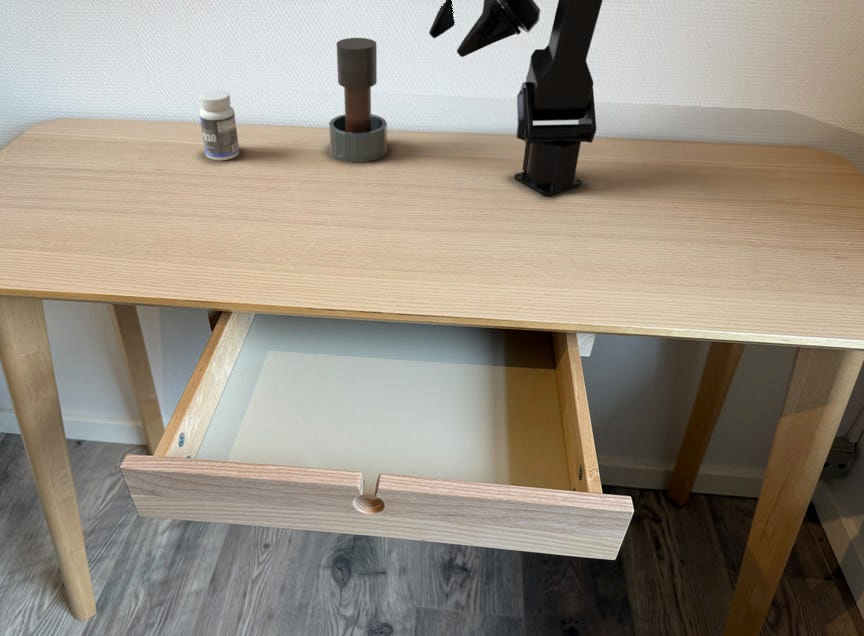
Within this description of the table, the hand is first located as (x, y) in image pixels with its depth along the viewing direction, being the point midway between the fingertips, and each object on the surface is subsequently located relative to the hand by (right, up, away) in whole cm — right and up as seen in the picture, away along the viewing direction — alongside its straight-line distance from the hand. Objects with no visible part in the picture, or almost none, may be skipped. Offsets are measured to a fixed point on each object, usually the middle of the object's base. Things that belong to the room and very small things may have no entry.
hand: (444, 44), depth 96 cm
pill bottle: (-31, -13, +5) cm, 34 cm away
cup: (-12, -12, +6) cm, 18 cm away
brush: (-12, -12, +6) cm, 18 cm away
